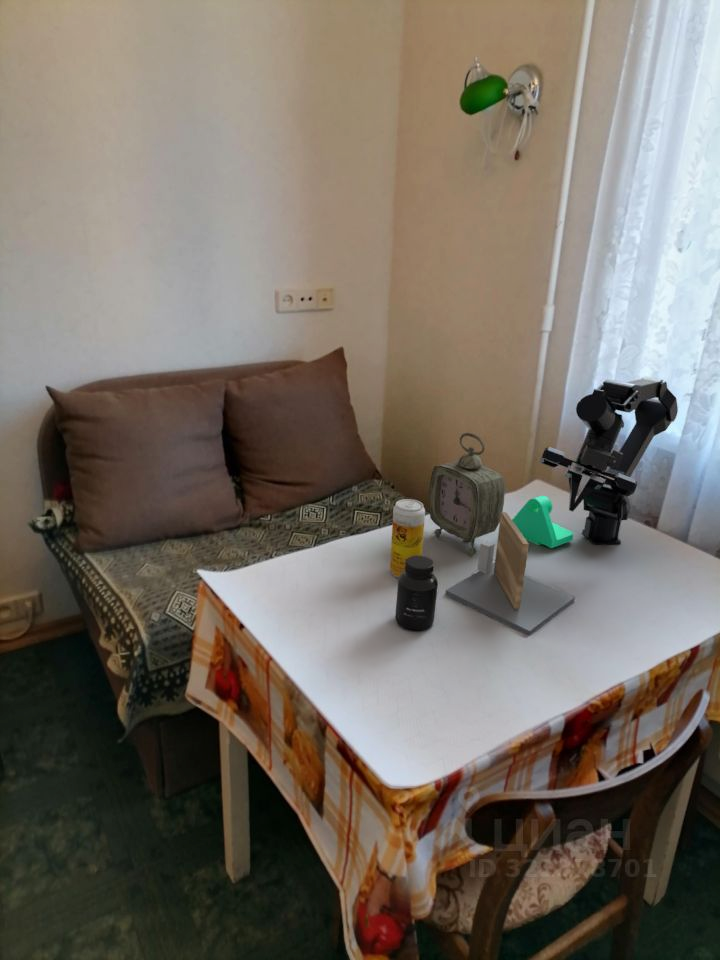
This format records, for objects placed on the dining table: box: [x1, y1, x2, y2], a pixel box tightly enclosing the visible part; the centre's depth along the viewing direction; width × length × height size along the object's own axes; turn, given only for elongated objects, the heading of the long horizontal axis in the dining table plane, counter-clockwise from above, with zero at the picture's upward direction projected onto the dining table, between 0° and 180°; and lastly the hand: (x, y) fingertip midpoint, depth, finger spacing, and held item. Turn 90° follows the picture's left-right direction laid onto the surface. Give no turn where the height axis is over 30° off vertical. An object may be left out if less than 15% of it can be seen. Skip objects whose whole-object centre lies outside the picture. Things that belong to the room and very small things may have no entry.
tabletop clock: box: [428, 432, 506, 556], centre depth 142 cm, size 14×9×25 cm, turn 36°
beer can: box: [389, 498, 426, 579], centre depth 130 cm, size 6×6×15 cm
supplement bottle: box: [395, 555, 439, 633], centre depth 115 cm, size 7×7×12 cm
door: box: [494, 511, 530, 609], centre depth 123 cm, size 1×13×13 cm, turn 5°
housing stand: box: [445, 540, 576, 637], centre depth 124 cm, size 16×18×7 cm
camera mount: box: [511, 495, 574, 549], centre depth 148 cm, size 12×8×10 cm, turn 35°
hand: (571, 510), depth 133 cm, fingers closed
